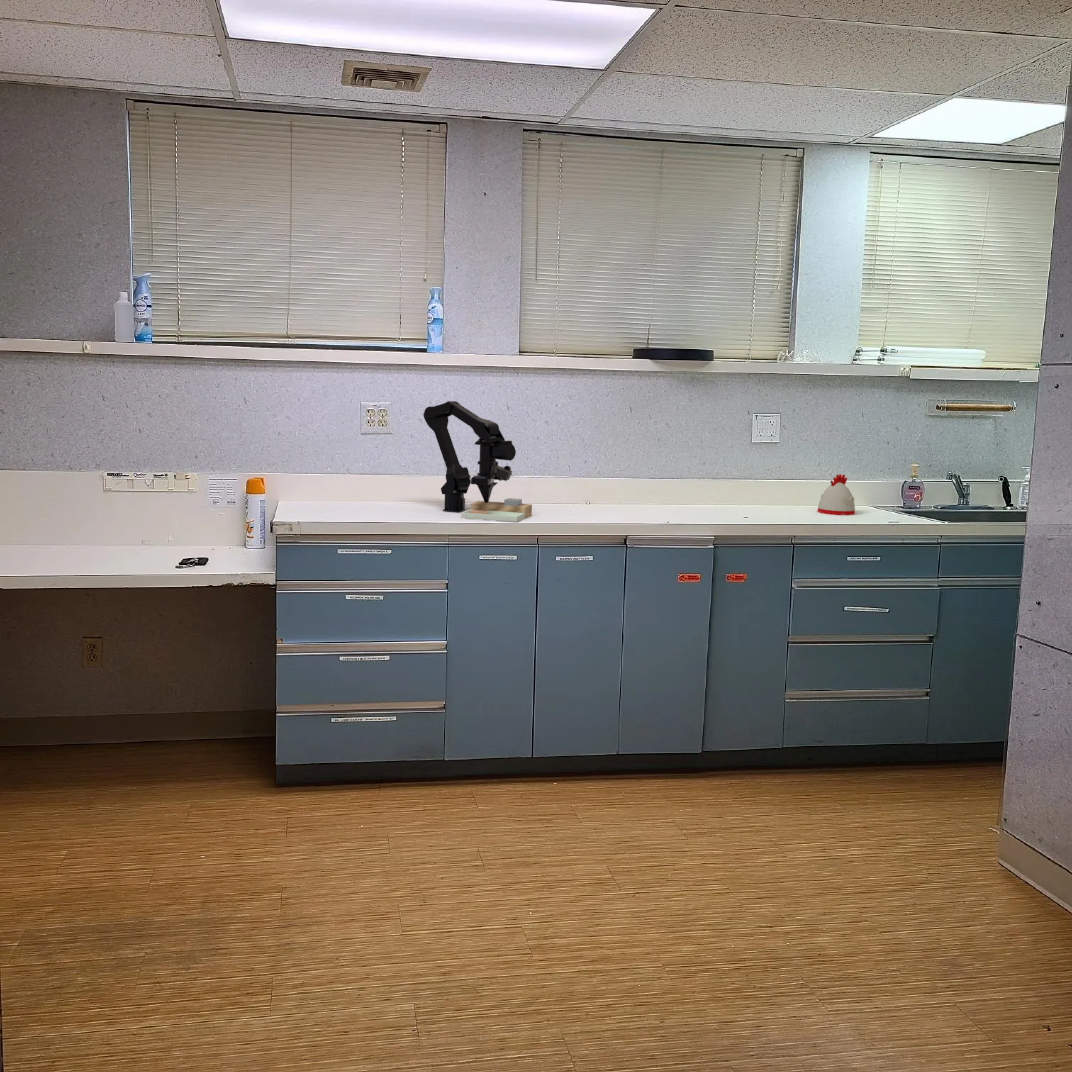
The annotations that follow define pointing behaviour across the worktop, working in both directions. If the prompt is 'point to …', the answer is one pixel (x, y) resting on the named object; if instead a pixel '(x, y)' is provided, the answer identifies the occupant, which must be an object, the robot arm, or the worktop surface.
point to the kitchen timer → (837, 498)
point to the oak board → (502, 507)
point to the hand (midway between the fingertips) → (486, 502)
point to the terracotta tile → (479, 511)
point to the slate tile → (512, 502)
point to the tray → (495, 516)
